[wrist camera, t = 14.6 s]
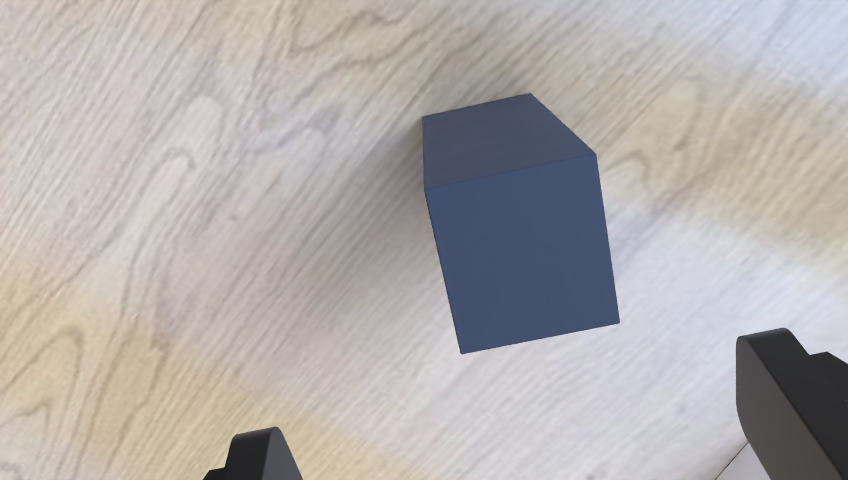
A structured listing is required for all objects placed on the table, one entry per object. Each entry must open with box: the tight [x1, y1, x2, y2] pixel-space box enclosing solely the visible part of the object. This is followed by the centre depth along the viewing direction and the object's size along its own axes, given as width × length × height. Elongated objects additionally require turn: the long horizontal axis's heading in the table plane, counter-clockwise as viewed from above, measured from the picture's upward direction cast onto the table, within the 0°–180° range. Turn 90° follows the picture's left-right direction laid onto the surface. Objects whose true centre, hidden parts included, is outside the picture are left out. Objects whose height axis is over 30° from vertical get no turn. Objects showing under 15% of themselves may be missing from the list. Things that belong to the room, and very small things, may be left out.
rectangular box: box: [422, 93, 620, 354], centre depth 30 cm, size 14×6×6 cm
